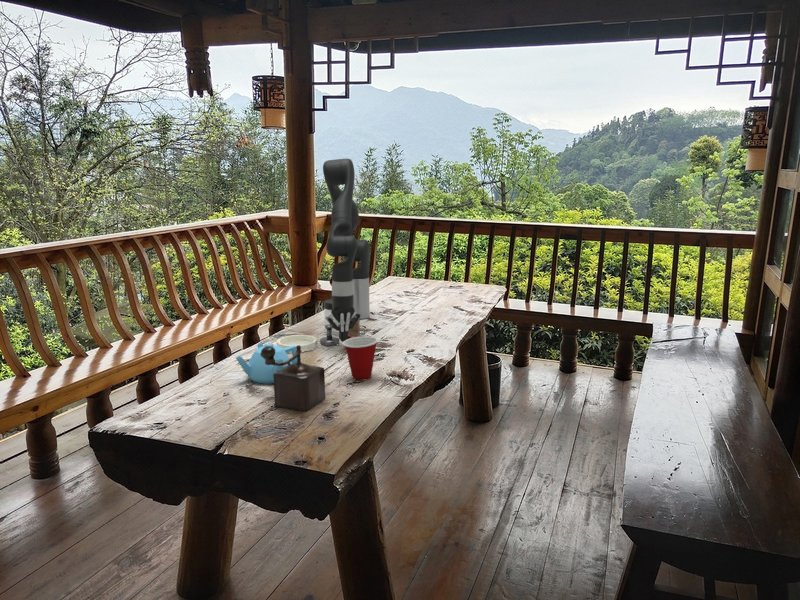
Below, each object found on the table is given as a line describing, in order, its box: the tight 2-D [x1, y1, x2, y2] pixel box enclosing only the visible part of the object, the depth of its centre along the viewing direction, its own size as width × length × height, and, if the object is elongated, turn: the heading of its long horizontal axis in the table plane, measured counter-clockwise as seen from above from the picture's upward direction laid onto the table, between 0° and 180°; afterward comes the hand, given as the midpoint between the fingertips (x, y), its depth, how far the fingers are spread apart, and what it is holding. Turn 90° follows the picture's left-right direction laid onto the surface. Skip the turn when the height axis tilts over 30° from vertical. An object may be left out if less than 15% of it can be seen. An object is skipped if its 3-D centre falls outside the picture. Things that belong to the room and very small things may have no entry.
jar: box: [323, 298, 339, 334], centre depth 234 cm, size 9×8×12 cm
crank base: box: [319, 324, 340, 347], centre depth 218 cm, size 7×7×7 cm
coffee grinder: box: [260, 345, 326, 413], centre depth 161 cm, size 16×11×18 cm
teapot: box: [235, 342, 302, 385], centre depth 183 cm, size 15×15×11 cm
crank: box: [331, 331, 354, 339], centre depth 215 cm, size 10×2×4 cm, turn 55°
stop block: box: [348, 318, 361, 337], centre depth 224 cm, size 5×5×7 cm
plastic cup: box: [342, 335, 379, 381], centre depth 183 cm, size 11×11×12 cm
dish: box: [276, 334, 318, 354], centre depth 214 cm, size 14×14×3 cm
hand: (343, 340), depth 212 cm, fingers closed
